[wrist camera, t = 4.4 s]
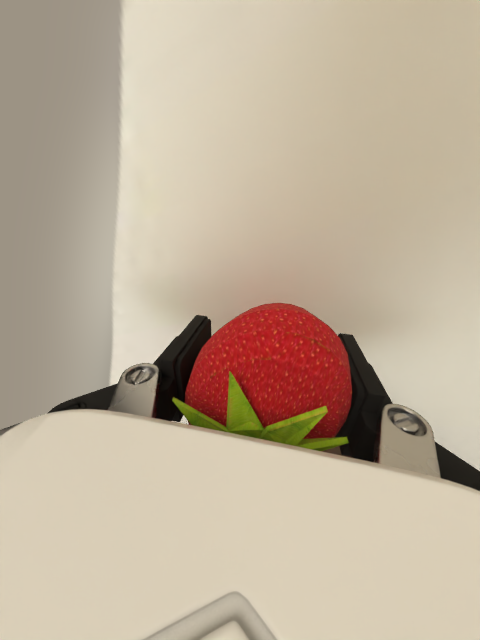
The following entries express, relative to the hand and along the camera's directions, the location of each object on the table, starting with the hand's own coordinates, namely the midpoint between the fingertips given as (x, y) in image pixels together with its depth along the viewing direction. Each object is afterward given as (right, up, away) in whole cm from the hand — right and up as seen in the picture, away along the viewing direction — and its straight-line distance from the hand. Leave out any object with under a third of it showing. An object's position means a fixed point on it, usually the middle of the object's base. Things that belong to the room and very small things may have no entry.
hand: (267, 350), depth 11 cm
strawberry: (0, +1, +2) cm, 3 cm away
